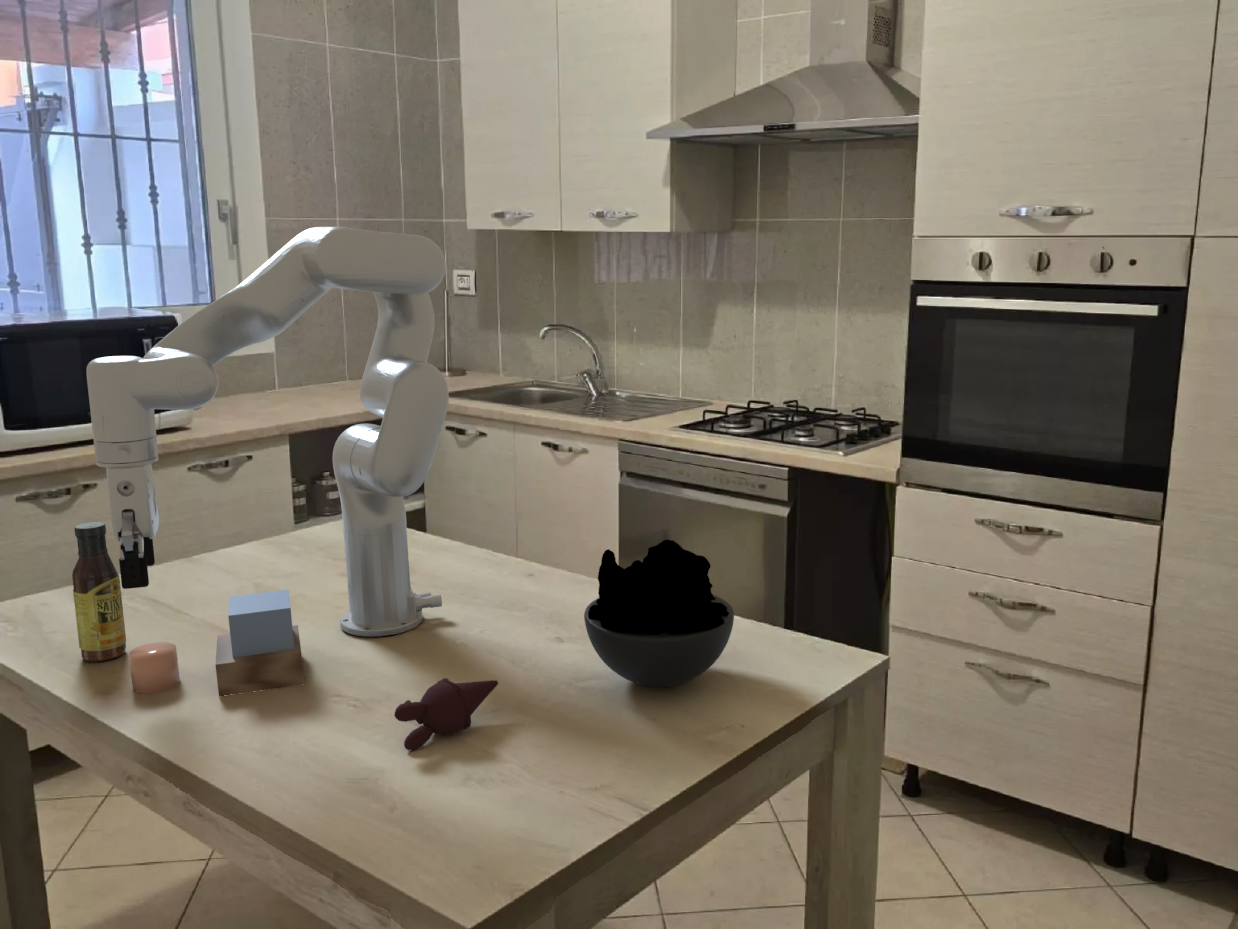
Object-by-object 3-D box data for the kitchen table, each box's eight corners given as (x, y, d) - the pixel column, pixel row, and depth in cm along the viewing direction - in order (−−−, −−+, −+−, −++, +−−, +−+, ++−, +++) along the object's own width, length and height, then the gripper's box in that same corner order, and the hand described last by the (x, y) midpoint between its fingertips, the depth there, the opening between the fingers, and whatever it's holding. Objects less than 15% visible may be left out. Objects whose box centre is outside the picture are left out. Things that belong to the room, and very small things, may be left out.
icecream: (473, 655, 140) (375, 702, 130) (507, 656, 135) (408, 706, 125) (487, 705, 141) (392, 756, 131) (522, 708, 136) (425, 762, 126)
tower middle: (292, 629, 155) (288, 589, 154) (294, 649, 148) (290, 607, 147) (233, 636, 153) (229, 596, 152) (232, 657, 146) (228, 615, 144)
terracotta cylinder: (181, 673, 153) (177, 639, 151) (178, 689, 147) (174, 655, 146) (135, 679, 151) (130, 645, 150) (131, 696, 145) (126, 662, 144)
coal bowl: (748, 661, 153) (749, 533, 148) (711, 722, 134) (711, 578, 130) (615, 645, 159) (613, 522, 155) (563, 701, 141) (558, 564, 137)
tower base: (300, 657, 158) (297, 625, 157) (304, 686, 148) (301, 652, 147) (221, 668, 155) (217, 635, 154) (219, 699, 145) (215, 664, 143)
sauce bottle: (109, 665, 156) (91, 532, 151) (71, 662, 157) (52, 531, 152) (138, 647, 162) (121, 520, 157) (101, 645, 163) (83, 518, 159)
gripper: (152, 462, 135) (164, 593, 138) (162, 437, 151) (173, 555, 154) (86, 466, 132) (100, 599, 136) (103, 441, 148) (115, 560, 152)
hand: (139, 576), depth 145 cm, fingers open, 9 cm apart
